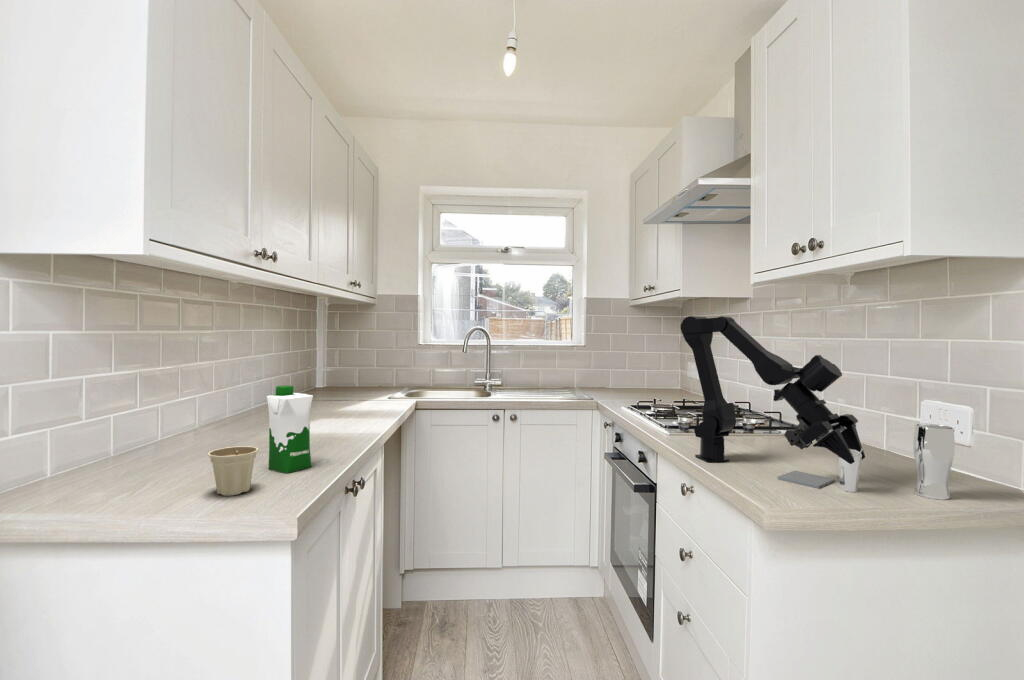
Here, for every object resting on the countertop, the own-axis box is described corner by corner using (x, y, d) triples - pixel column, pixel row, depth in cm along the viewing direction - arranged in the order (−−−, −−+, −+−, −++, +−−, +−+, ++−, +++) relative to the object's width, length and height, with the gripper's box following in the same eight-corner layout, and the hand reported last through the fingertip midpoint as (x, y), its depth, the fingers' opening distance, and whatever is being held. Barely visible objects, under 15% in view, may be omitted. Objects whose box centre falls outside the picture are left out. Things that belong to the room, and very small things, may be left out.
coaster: (777, 479, 126) (777, 476, 126) (794, 472, 132) (794, 470, 132) (818, 488, 119) (818, 485, 119) (834, 481, 125) (834, 478, 125)
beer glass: (950, 494, 116) (953, 425, 116) (954, 502, 110) (957, 430, 110) (911, 488, 120) (913, 422, 120) (912, 496, 114) (915, 426, 114)
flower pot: (203, 490, 113) (203, 449, 113) (251, 482, 119) (251, 443, 119) (213, 501, 106) (213, 458, 106) (263, 492, 112) (263, 451, 112)
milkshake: (852, 495, 115) (854, 448, 115) (831, 487, 120) (832, 443, 120) (869, 493, 116) (870, 447, 116) (847, 486, 121) (849, 442, 121)
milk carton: (294, 461, 137) (294, 384, 136) (317, 467, 132) (317, 386, 132) (262, 469, 130) (262, 387, 129) (286, 475, 125) (286, 390, 124)
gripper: (798, 420, 135) (845, 473, 127) (762, 429, 124) (811, 488, 115) (832, 393, 129) (884, 447, 121) (798, 399, 117) (853, 459, 109)
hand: (858, 460), depth 117 cm, fingers open, 6 cm apart
